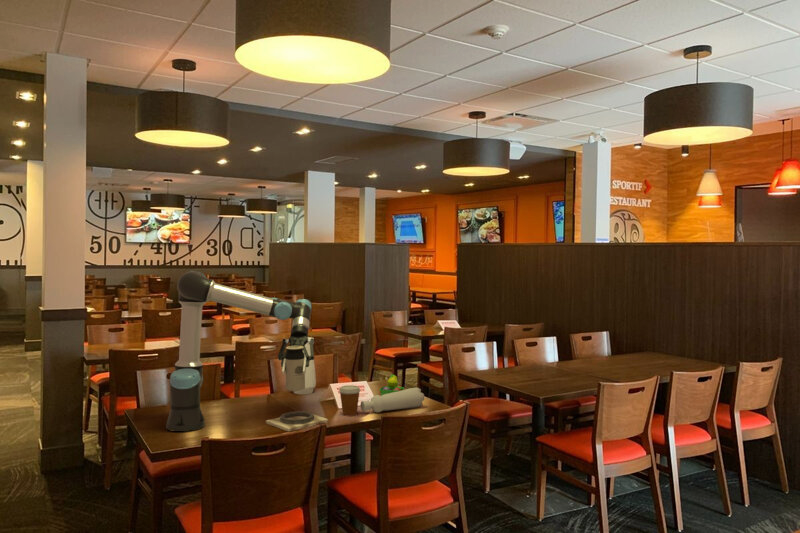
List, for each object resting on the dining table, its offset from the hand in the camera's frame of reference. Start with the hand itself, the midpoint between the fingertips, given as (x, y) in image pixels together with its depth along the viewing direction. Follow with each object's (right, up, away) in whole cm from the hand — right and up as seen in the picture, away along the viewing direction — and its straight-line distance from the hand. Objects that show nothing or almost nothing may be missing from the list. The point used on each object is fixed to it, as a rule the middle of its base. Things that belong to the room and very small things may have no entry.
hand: (293, 372), depth 257 cm
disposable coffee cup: (+22, -22, +18) cm, 36 cm away
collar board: (+1, -22, +4) cm, 22 cm away
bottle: (+41, -22, +25) cm, 53 cm away
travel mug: (0, -8, +4) cm, 9 cm away
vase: (-6, -21, +61) cm, 65 cm away
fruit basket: (+41, -21, +48) cm, 66 cm away
